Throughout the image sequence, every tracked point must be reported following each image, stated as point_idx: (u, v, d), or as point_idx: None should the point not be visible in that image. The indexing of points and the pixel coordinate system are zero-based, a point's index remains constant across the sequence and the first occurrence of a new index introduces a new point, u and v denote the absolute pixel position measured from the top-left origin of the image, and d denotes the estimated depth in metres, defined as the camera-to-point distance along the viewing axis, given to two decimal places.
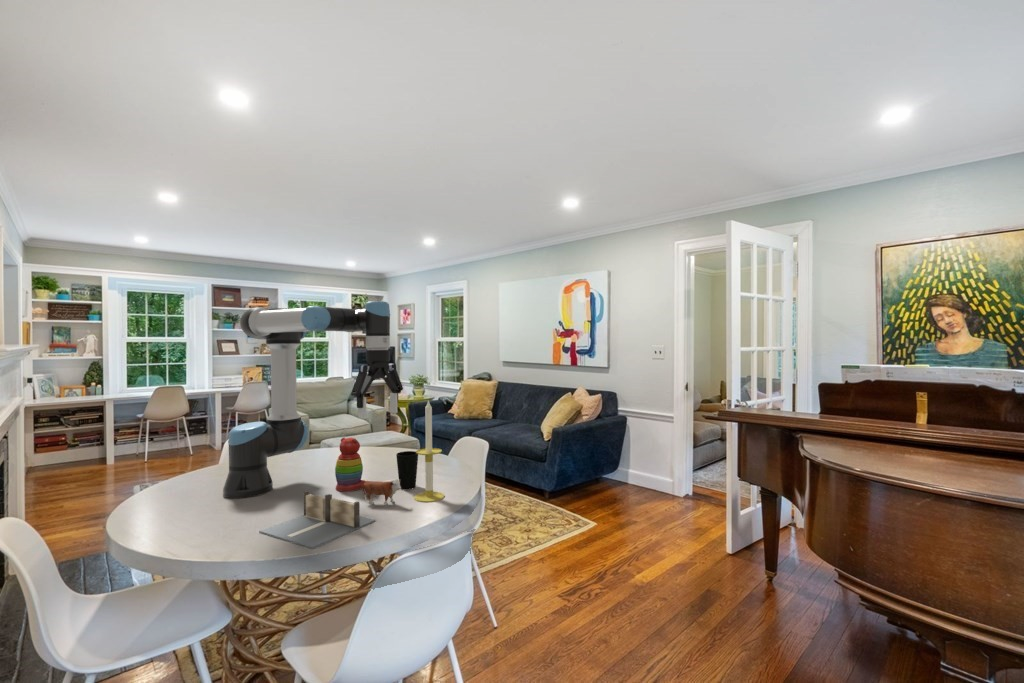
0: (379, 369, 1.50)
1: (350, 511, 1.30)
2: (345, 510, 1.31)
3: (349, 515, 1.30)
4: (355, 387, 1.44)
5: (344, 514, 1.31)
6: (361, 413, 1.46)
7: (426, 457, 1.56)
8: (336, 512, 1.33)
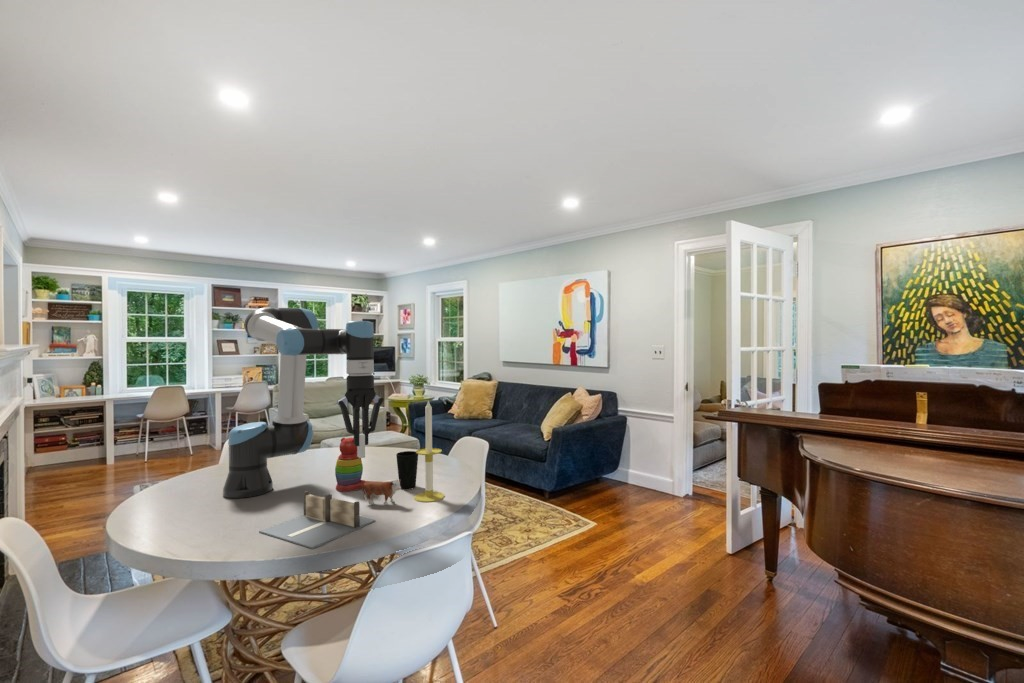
0: (357, 398, 1.33)
1: (350, 511, 1.30)
2: (345, 510, 1.31)
3: (349, 515, 1.30)
4: (345, 425, 1.33)
5: (344, 514, 1.31)
6: (358, 451, 1.35)
7: (426, 457, 1.56)
8: (336, 512, 1.33)
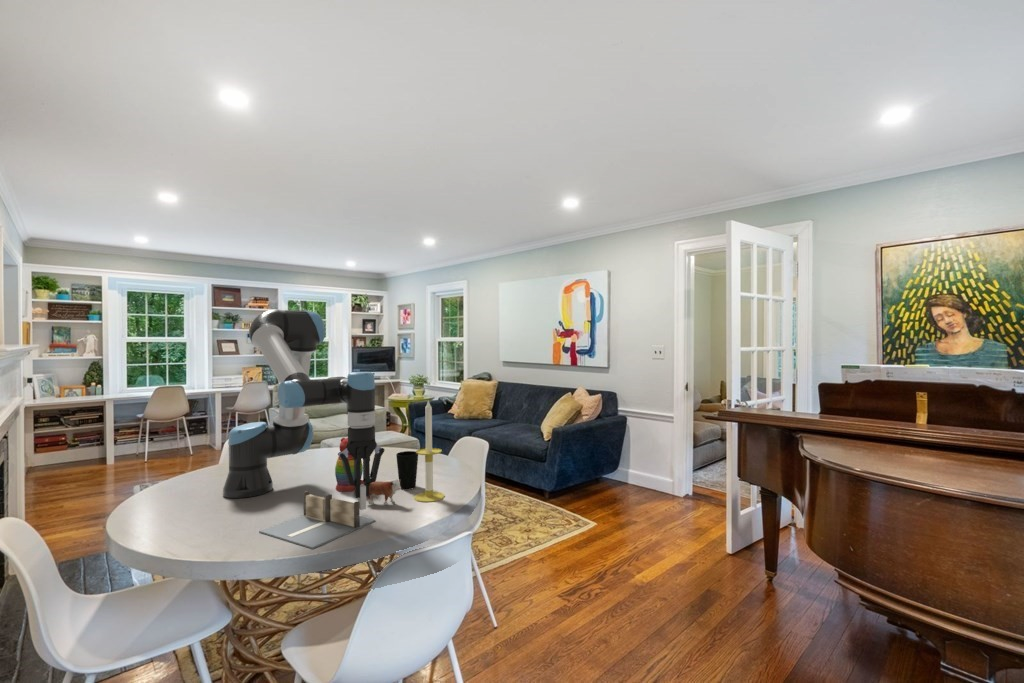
0: (358, 450, 1.33)
1: (350, 511, 1.30)
2: (345, 510, 1.31)
3: (349, 515, 1.30)
4: (347, 477, 1.33)
5: (344, 514, 1.31)
6: None
7: (426, 457, 1.56)
8: (336, 512, 1.33)
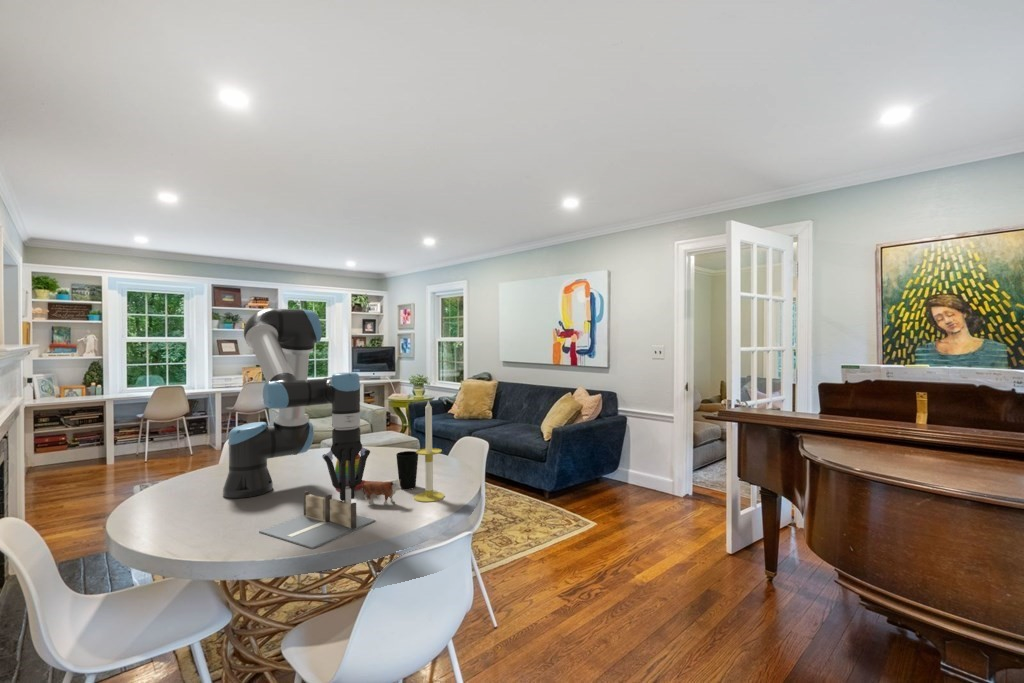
0: (343, 452, 1.31)
1: (347, 512, 1.29)
2: (343, 511, 1.30)
3: (346, 516, 1.29)
4: (331, 479, 1.31)
5: (342, 515, 1.31)
6: None
7: (426, 457, 1.56)
8: (335, 512, 1.32)
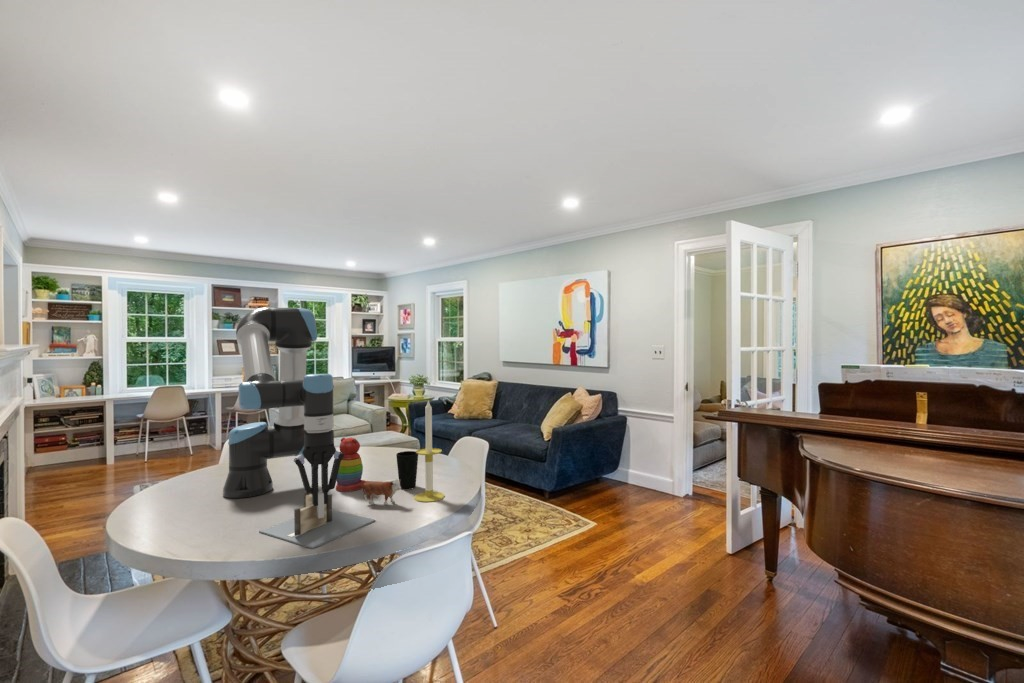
0: (315, 455, 1.27)
1: None
2: None
3: None
4: (303, 484, 1.27)
5: None
6: (317, 511, 1.29)
7: (426, 457, 1.56)
8: None
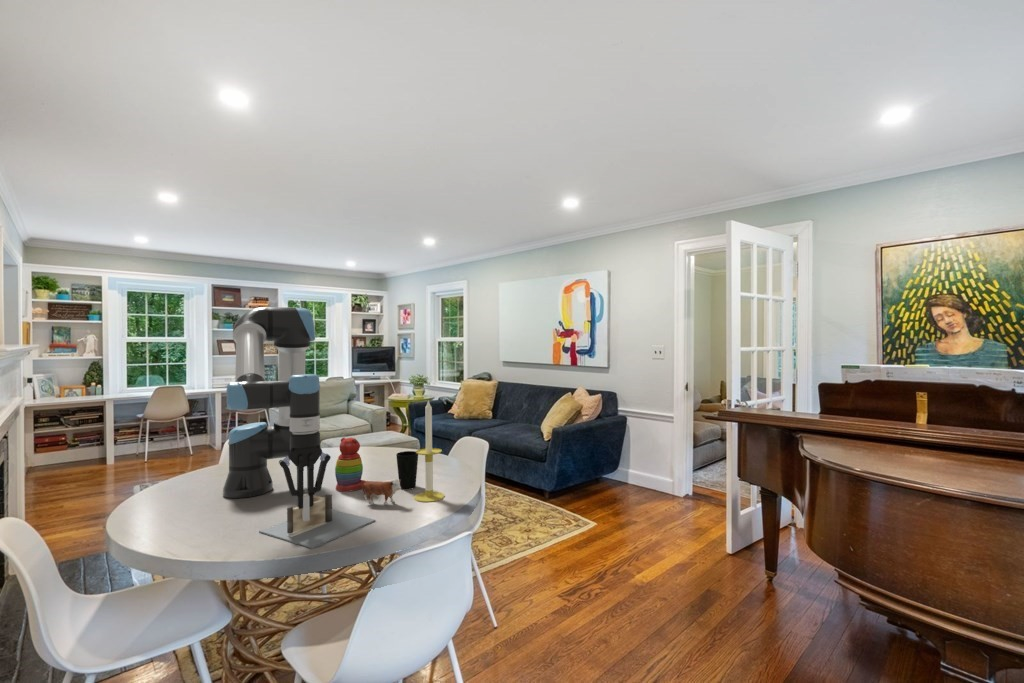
0: (300, 457, 1.25)
1: None
2: None
3: None
4: (288, 486, 1.25)
5: None
6: (302, 514, 1.27)
7: (426, 457, 1.56)
8: None
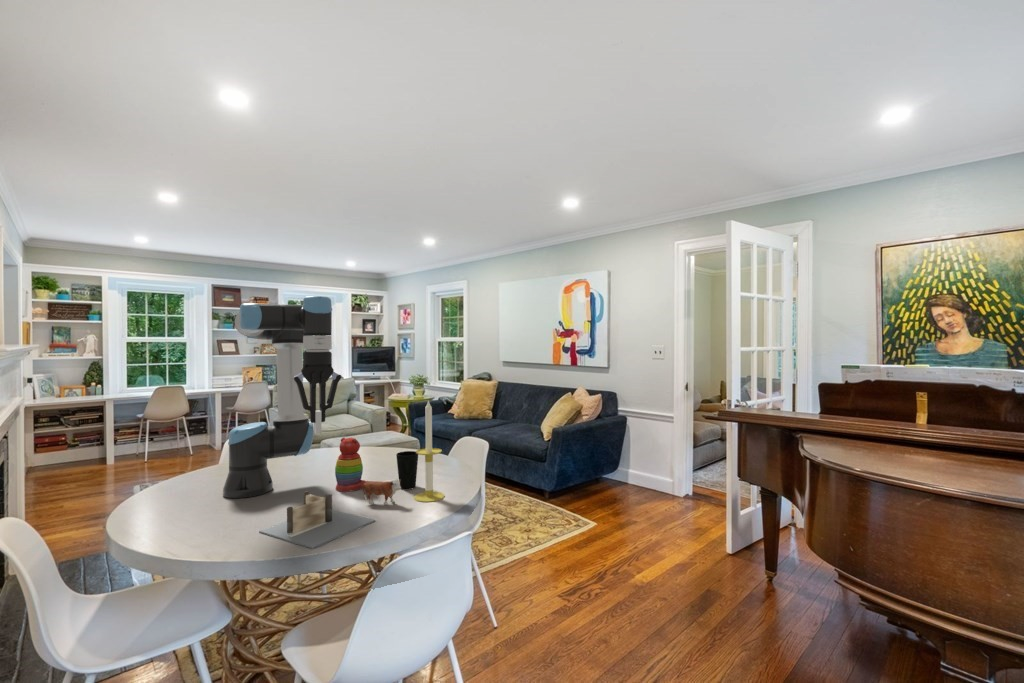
0: (313, 374, 1.32)
1: None
2: None
3: None
4: (301, 401, 1.32)
5: None
6: (315, 428, 1.34)
7: (426, 457, 1.56)
8: None
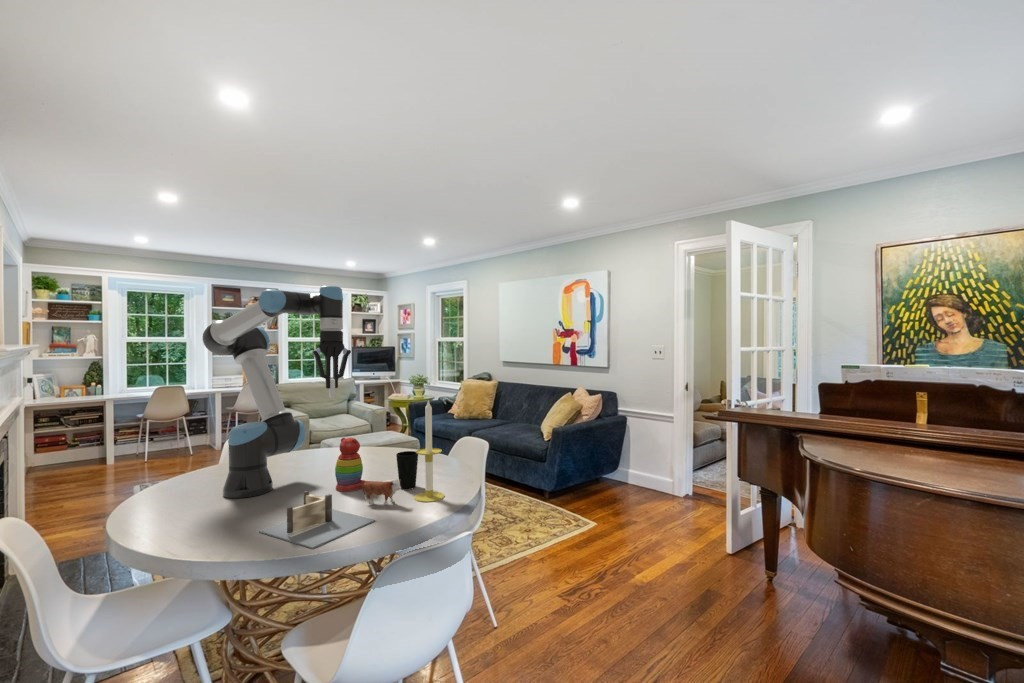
0: (328, 348, 1.63)
1: None
2: None
3: None
4: (319, 371, 1.63)
5: None
6: (329, 393, 1.65)
7: (426, 457, 1.56)
8: None
